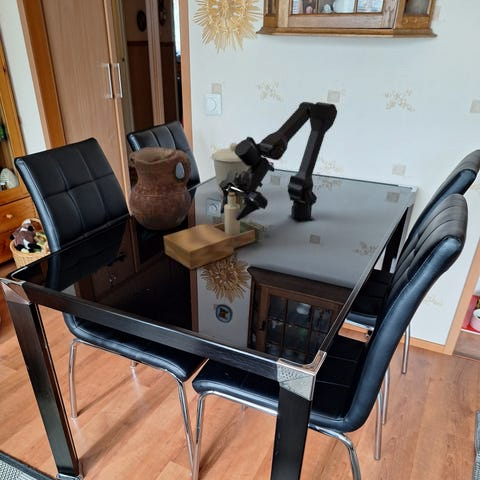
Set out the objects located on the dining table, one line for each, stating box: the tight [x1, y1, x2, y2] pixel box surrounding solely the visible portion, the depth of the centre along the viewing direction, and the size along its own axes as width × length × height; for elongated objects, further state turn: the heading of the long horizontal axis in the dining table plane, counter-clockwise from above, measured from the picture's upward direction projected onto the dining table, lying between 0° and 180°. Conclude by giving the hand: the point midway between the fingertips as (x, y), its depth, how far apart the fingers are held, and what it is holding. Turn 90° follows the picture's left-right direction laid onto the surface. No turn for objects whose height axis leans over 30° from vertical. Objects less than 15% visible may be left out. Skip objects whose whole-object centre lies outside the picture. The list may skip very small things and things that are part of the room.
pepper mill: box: [236, 186, 245, 219], centre depth 161 cm, size 6×6×11 cm
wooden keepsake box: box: [163, 223, 235, 270], centre depth 135 cm, size 16×14×6 cm
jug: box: [128, 146, 192, 231], centre depth 151 cm, size 22×21×25 cm
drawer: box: [212, 219, 266, 249], centre depth 143 cm, size 20×13×4 cm
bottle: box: [223, 192, 240, 236], centre depth 139 cm, size 5×5×14 cm
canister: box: [211, 142, 250, 199], centre depth 177 cm, size 18×18×21 cm
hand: (228, 216), depth 138 cm, fingers open, 8 cm apart
